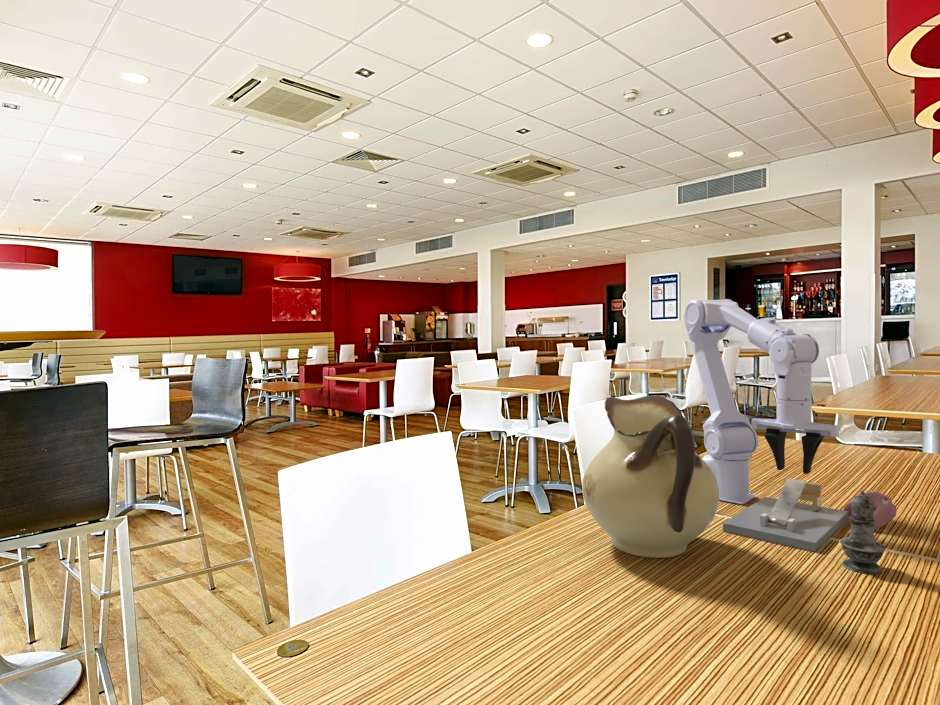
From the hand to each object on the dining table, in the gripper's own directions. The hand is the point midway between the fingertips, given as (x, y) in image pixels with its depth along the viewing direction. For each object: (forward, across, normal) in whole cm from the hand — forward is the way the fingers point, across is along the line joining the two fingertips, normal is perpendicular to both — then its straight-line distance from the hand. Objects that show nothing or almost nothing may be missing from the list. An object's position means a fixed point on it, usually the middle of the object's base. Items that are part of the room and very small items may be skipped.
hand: (793, 470), depth 111 cm
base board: (+10, 0, -2) cm, 10 cm away
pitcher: (+10, -14, -28) cm, 33 cm away
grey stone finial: (+10, +14, -15) cm, 23 cm away
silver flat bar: (+5, 0, -4) cm, 7 cm away
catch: (+8, 0, +6) cm, 11 cm away
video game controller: (+10, +10, +9) cm, 17 cm away
